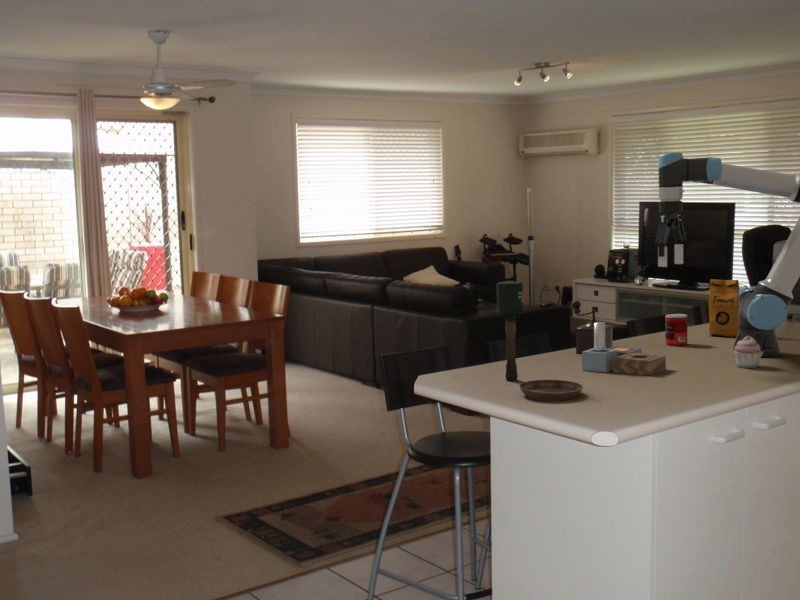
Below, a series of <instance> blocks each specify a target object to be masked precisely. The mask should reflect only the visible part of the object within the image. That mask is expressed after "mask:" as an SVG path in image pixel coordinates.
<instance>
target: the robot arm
mask: <svg viewBox="0 0 800 600" xmlns="http://www.w3.org/2000/svg"><path fill="white" fill-rule="evenodd" d="M684 182H686V183H688V182H691V183H692V182H693V183H697V184H699V183H700V184H706V185H713V186H718V187H725V188H730V189H735V190H736V189H737V190H742V191H747V192H752V193H758V194H759V193H760V194H765V195H771V196H777V197H783V198H788V199H789V200H790V202H793V203H798V204H800V172H797V173H796V174H788V173H783V172H782V173H781V172H776V171H771V170H764V169H758V168H753V167H746V166H740V165H733V164H728V163H722V159H721V157H712V156H710V157H696V158H695V157H694V158H685V157H683V153H682V152H666V153H661V154H660V155H659V158H658V200H659V202H658V213H660V214H663V215H659V216H658V225H657V229H656V230H657V231H656V235H655V240H654V247H657V267H658V268H659V267H660V268H661V267H662V268H667V267H668V246H667V243H668V240H669V236H670V233H672V237H673V239H674V242H675V244H674V248H673V249H674V264H675V265H683V264H684V245H686V244H687V238H686V237H687V236H686V233H685V228H684V221H683V215H682V214H679V213H682V212H683V210H684V208H683V207H684V202H683V201H682V200H683V196H684V195H683V193H684V192H685V190H684V189H683V187H684V186H683V183H684ZM785 241H786V242H785V244H784V245H783V247H782V249H781V251H780V252H779V254H778V256H777V258H776V260H775V262H774V264H773V265H772V267H771V269H770V271H769V272H768V275H767V276H766V278H765V279H764V280H760V281H758V283H757V284H756V285H755V286H754V285H753V286H742V287H739V295H738V298H739V331H738V334H737V337H735V341H734V343H733V347H732V351H734V350H735V346H736V345H737V342H738V341H740V340H743V338H745V337H746V336H750V337H752V338H753V339H754V340H755V341H756V342H757V343H758V344H759V346H760V351H762V352H763V354H762V356H761V358H769V357H778V356H781V354H782V353H781V352H782V351H781V350H782V348H781V345H780V342H779V339H778V336H777V333H776V329H777V328H779V327H780V326H782V325H783V324H784V322H785V321H786V319H787V317H788V308H789V307H790V305H791V303H792V302H793V300H794V296H793V295H794V294H793V289H794V287H795V286H796V284H797V282H798V280H799V278H800V217H799V218H798V219H797V221H796V223H795V225H794V227H793V228H792V230H791V232H790V234H789V236H788V238H787V239H786V240H785Z"/></svg>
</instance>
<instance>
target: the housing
mask: <svg viewBox="0 0 800 600" xmlns="http://www.w3.org/2000/svg"><path fill="white" fill-rule="evenodd" d="M615 348H627V349H631V350H629V351H626V352H625V351H617V357H618V356H621V355H624V354H627V353H643V351H642V350H643V349H642V348H640V347H639V348H638V347H625V346H613V345H612V347H610V348H607V349H615Z"/></svg>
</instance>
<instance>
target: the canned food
mask: <svg viewBox="0 0 800 600" xmlns="http://www.w3.org/2000/svg"><path fill="white" fill-rule="evenodd" d="M664 321H665V324H664V327H665V330H664V331H665V334H664V335H665V338H664V339H665V345H666V346H669V347H683V346H686V345H687V344H688V314H685V313H684V314H683V313H669V314H665V319H664Z"/></svg>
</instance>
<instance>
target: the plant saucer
mask: <svg viewBox="0 0 800 600" xmlns="http://www.w3.org/2000/svg"><path fill="white" fill-rule="evenodd" d="M518 387H519V388H520V390H521V392H522V393H523V395H524V396H525V397H527V398H529V399H533V400H536V401H546V402H547V401H550V402H551V401H552V402H553V401H554V402H556V401H567V400H572V399H574V398H576V397H577V396H578V395H580V393H581V392H582V391H583V389H584V386H583V385H582V384H581V383H578V382H576V381H575V382H574V381H569V380H563V379H562V380H561V379H536V380H534V379H533V380H528V381H525V382H521V383H520V384H518Z"/></svg>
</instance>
